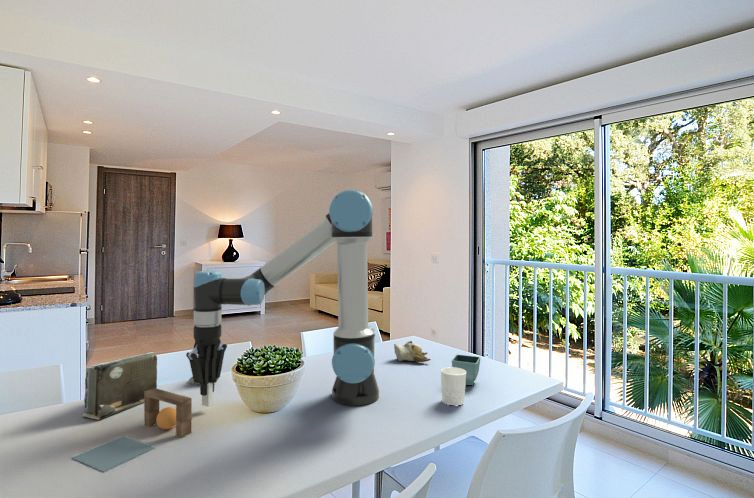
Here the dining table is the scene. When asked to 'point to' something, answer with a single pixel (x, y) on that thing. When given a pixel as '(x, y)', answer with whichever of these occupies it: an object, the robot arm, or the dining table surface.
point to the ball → (166, 418)
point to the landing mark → (113, 453)
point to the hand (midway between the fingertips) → (207, 404)
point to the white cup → (453, 385)
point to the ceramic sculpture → (410, 352)
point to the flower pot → (467, 366)
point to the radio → (118, 384)
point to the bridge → (180, 401)
